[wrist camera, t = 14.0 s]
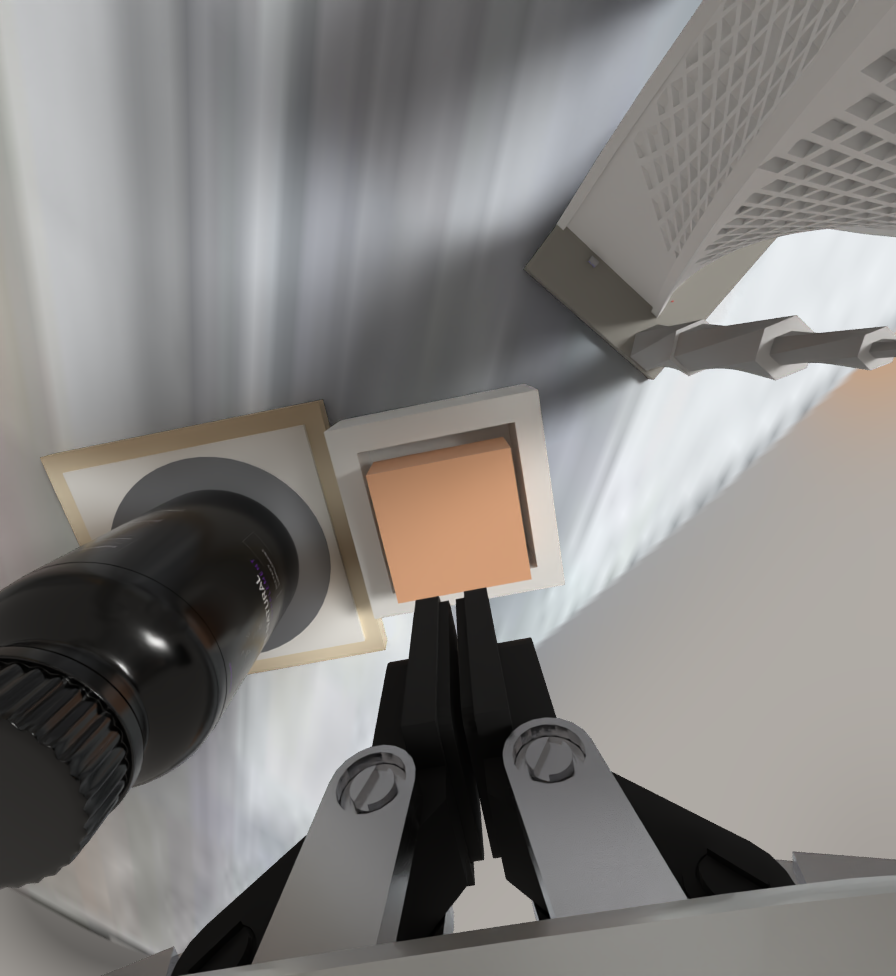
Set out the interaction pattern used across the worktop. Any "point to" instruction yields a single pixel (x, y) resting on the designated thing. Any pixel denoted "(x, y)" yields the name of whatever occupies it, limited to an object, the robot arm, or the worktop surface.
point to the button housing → (437, 429)
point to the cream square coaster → (260, 476)
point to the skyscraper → (734, 185)
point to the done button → (450, 519)
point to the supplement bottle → (127, 663)
